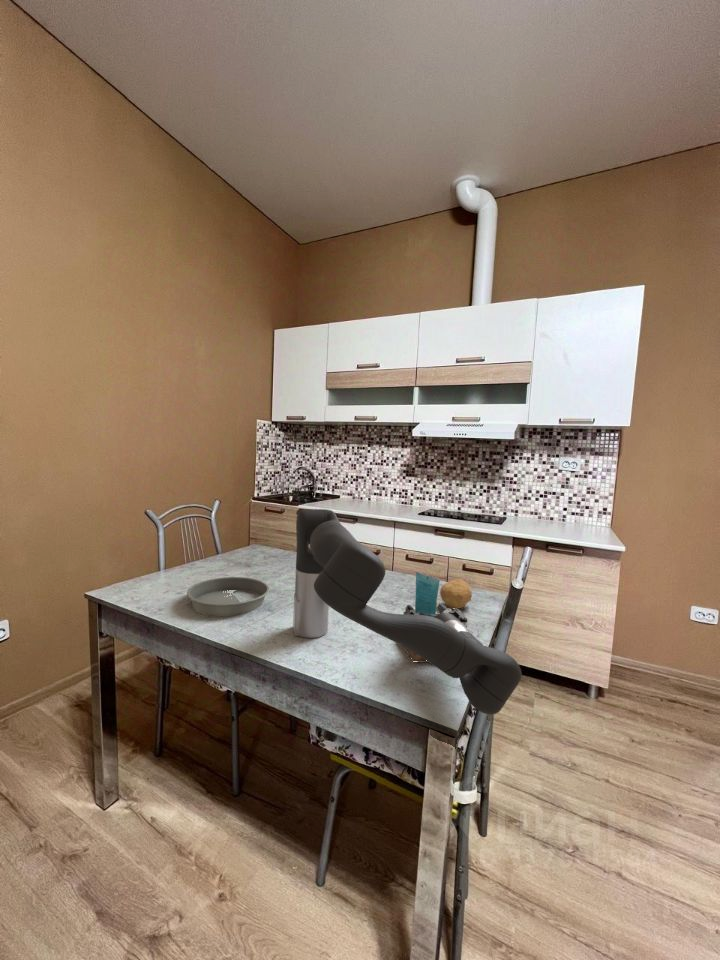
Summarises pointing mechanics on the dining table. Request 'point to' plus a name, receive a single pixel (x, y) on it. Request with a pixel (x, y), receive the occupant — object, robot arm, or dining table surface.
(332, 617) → the dining table surface
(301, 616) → the robot arm
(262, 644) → the dining table surface
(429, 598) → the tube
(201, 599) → the cake pan
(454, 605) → the potato
